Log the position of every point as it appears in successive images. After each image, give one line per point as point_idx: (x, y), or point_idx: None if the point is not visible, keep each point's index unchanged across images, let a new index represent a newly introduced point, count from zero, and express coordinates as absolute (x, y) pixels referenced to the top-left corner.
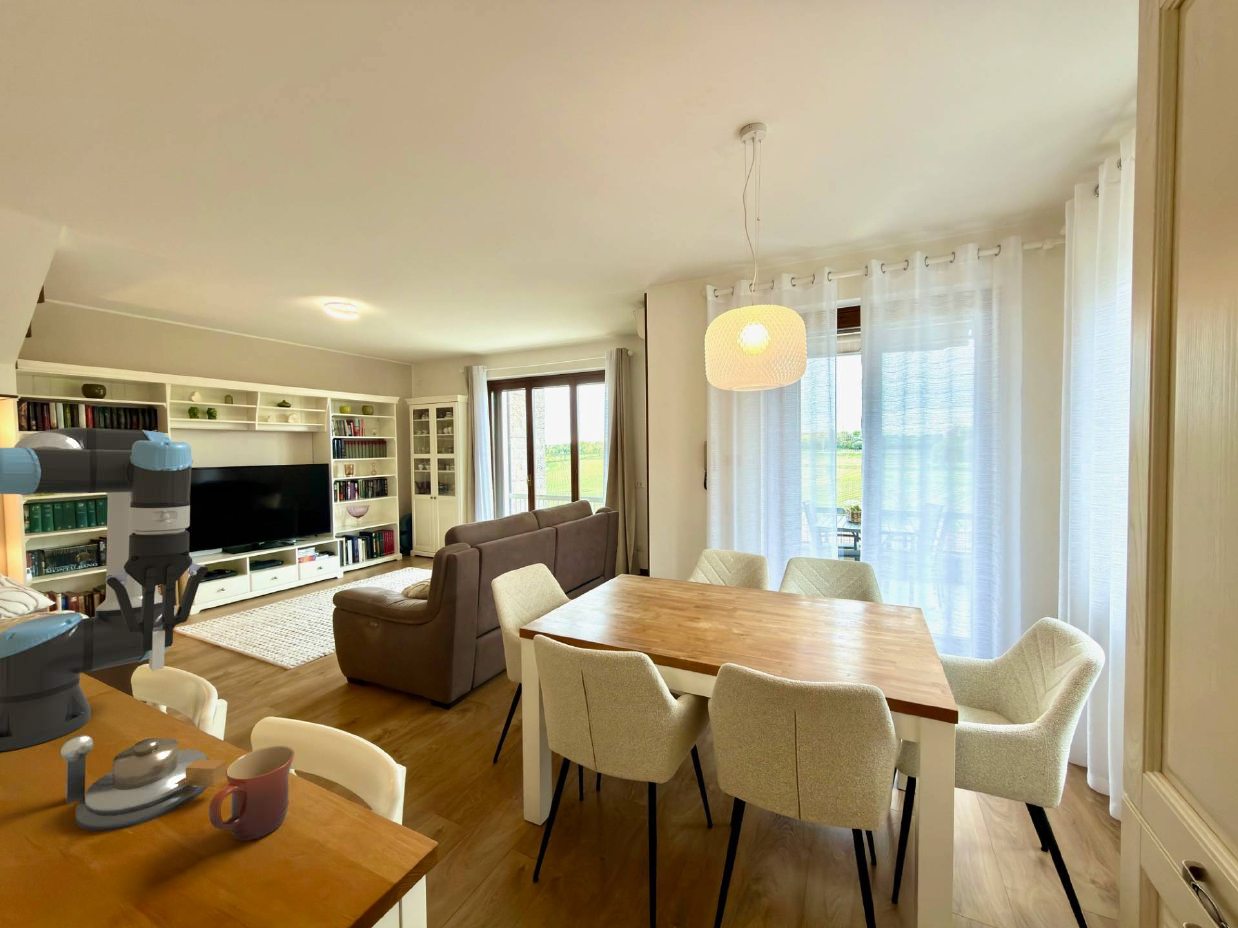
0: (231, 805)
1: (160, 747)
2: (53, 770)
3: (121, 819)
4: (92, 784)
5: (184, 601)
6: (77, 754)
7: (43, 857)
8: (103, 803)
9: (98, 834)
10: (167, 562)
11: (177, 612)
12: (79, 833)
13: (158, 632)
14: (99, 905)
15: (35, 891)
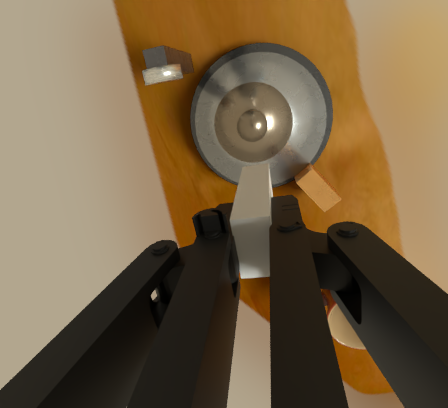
0: (324, 294)
1: (270, 124)
2: None
3: (235, 184)
4: (198, 99)
5: (386, 375)
6: (167, 81)
7: (181, 183)
8: (216, 165)
9: (218, 176)
10: None
11: (339, 256)
12: (202, 160)
13: (257, 274)
14: None
15: (187, 231)
